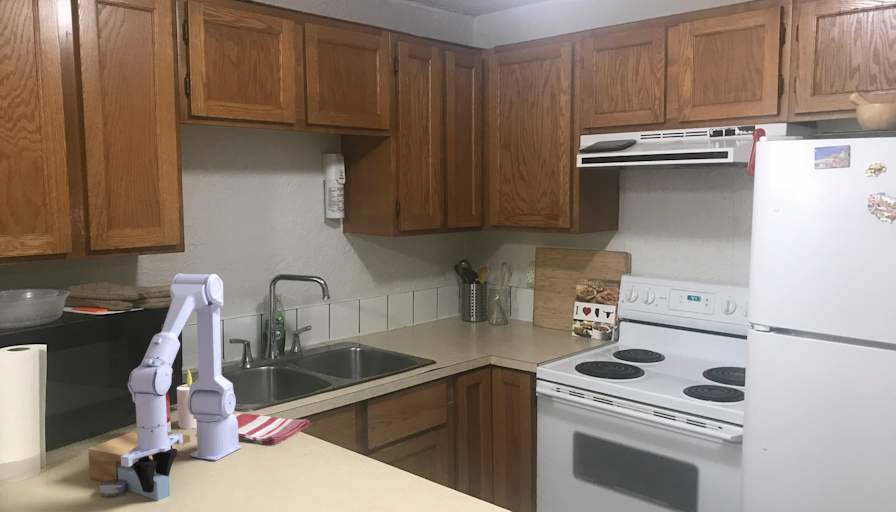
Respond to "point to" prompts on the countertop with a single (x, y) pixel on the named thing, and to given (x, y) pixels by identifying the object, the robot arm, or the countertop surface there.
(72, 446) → the countertop surface
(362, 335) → the countertop surface
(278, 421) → the dish towel
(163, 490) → the push bar
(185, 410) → the candle
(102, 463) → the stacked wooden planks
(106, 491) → the grey round puck
